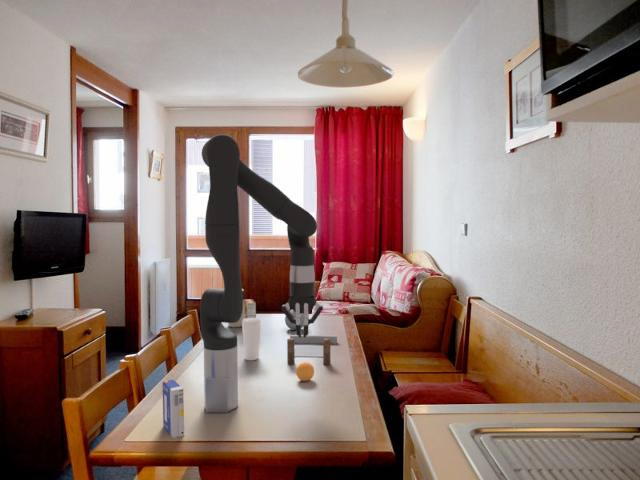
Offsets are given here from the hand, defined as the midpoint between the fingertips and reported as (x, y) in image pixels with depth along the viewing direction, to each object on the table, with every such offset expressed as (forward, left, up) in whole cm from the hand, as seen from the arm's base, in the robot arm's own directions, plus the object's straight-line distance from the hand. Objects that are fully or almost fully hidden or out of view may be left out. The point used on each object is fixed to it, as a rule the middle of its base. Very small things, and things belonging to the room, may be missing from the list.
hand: (302, 336), depth 136 cm
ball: (+9, 0, -14) cm, 17 cm away
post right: (+26, -6, -17) cm, 32 cm away
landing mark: (+41, 0, -17) cm, 45 cm away
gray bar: (+54, 0, -17) cm, 57 cm away
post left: (+26, +7, -17) cm, 32 cm away
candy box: (+68, +30, -17) cm, 77 cm away
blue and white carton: (-27, +30, -17) cm, 44 cm away
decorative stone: (+76, +10, -17) cm, 79 cm away
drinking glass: (+31, +22, -17) cm, 42 cm away
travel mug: (+83, +40, -17) cm, 94 cm away
